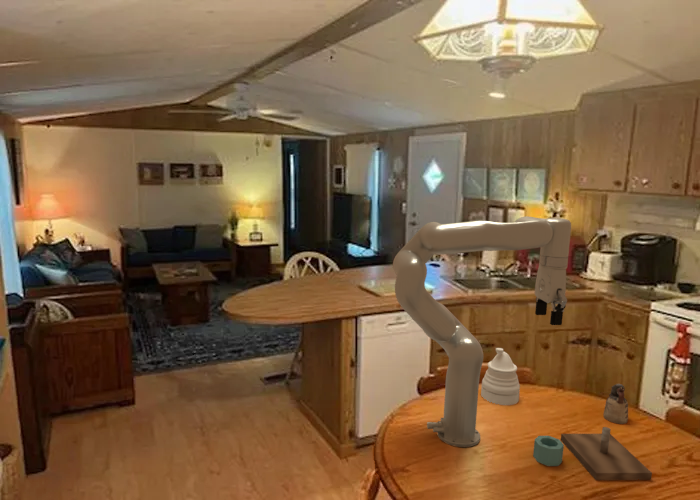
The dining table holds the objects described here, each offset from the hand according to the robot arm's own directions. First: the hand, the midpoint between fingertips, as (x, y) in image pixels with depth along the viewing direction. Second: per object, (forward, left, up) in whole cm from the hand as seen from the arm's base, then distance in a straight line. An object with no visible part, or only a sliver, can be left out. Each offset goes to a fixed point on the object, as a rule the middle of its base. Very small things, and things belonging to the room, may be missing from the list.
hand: (547, 319), depth 150 cm
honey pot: (-2, +27, -37) cm, 46 cm away
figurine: (+31, +11, -37) cm, 49 cm away
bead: (-2, -12, -37) cm, 39 cm away
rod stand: (+14, -12, -37) cm, 41 cm away
